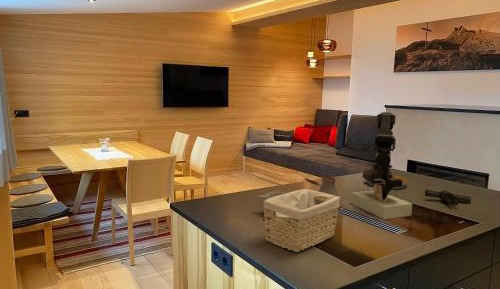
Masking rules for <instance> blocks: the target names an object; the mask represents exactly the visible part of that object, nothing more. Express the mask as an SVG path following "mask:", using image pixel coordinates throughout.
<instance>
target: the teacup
mask: <svg viewBox="0 0 500 289" xmlns="http://www.w3.org/2000/svg"><path fill="white" fill-rule="evenodd" d="M286 193H287V192H284V191H283V192H282V191H271V192H268V193H266V194H265V195H264V194H263V195H262V194H261V195H259V196H258V197H257V203H258V204H259V205H260V206H261V207H263V206H264V202H263V203H262V202H261V199H263V200H264V201H265V200H267V199H269V198H272V197H275V196H278V195H283V194H286Z"/></svg>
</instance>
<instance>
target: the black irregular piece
mask: <svg viewBox="0 0 500 289" xmlns="http://www.w3.org/2000/svg"><path fill="white" fill-rule="evenodd" d="M424 196H425V197H428V198H429V197H430V198H435V199H437V198H438V199H439V200H441V201H442V202H443V203H444V204H446V205H450V206H453V205H454V206H458V205H459V203H464V204H471V202H472V197H471V196H466V195H460V194H454V193H452V192H450V191H448V190H446V189H445V190H442V191H437V190H433V189H432V190H431V189H425V190H424Z"/></svg>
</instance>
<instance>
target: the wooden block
mask: <svg viewBox="0 0 500 289" xmlns="http://www.w3.org/2000/svg"><path fill="white" fill-rule="evenodd" d="M380 184H384V183H374V188H373V190H374V195H373V199H376V200H378V201H380V202H383V203H387V197H386V199H384V200H383V199H382V187H381V185H380Z"/></svg>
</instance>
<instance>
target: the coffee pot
mask: <svg viewBox="0 0 500 289" xmlns="http://www.w3.org/2000/svg"><path fill="white" fill-rule="evenodd" d="M304 180H305V183H310V184H313V185H315V186H319V190H318V192H322V193H326V194H330V195H334V196H339V197H340V195H339V191H338V189H337V187H336V184H335V183H336V181H337V178H336V177H332V176H322V177H321V180H322V181H321V182H322V183H318V182H316V181H314V180H313V179H312V180H311V179H309V178H303V179H302V181H301V182H302V183H304ZM321 203H324V201H321V200H317V199H314V204H315V205H318V204H321ZM341 204H342V200H341V199H340V205H341Z"/></svg>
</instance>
